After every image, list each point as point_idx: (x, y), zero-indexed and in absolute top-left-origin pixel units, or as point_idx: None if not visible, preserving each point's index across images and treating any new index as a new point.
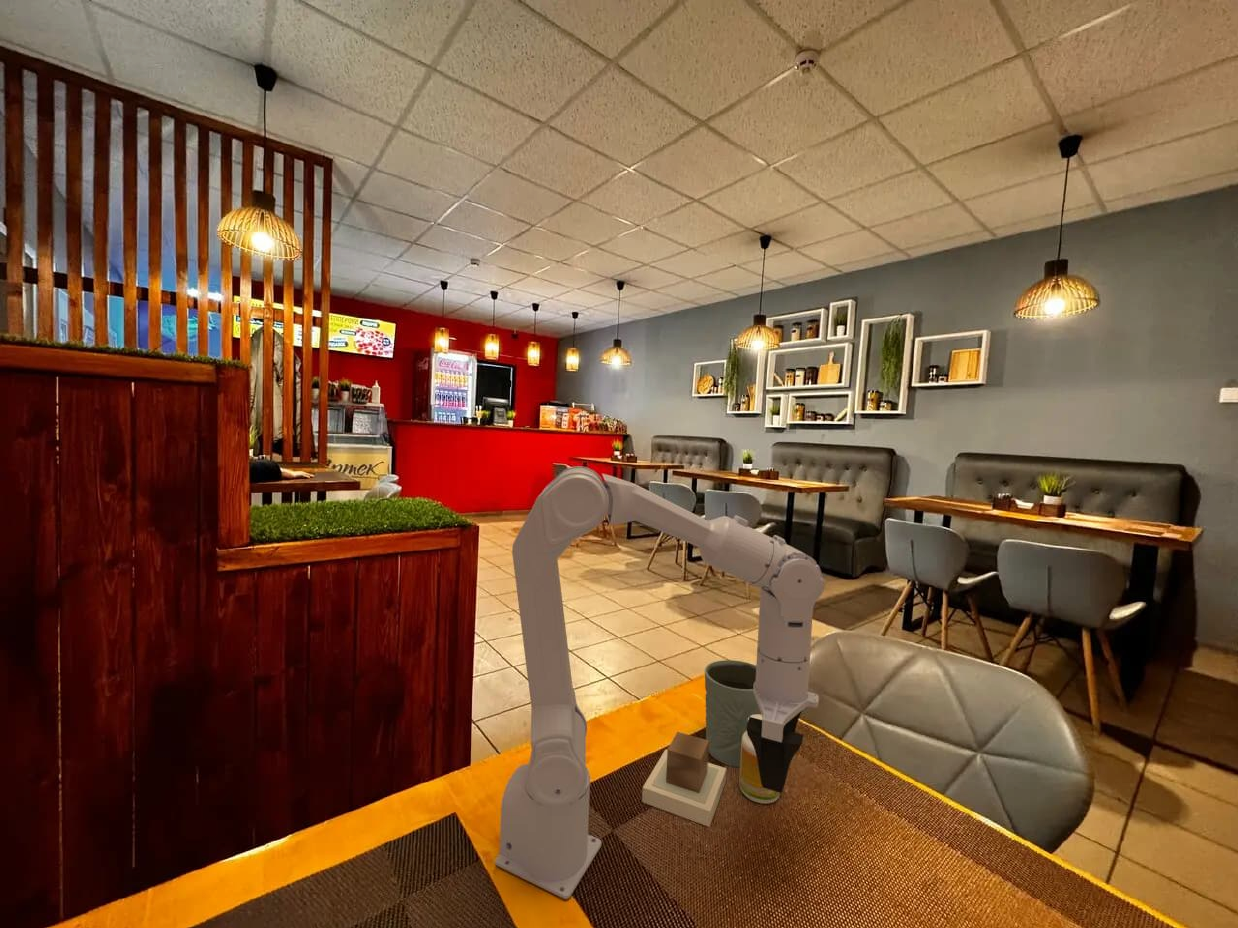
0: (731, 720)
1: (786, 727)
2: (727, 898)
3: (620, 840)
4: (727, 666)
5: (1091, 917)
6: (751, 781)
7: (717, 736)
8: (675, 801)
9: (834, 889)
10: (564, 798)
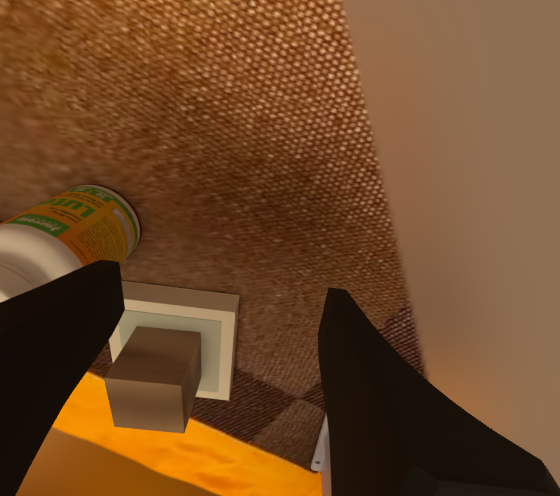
0: None
1: (62, 332)
2: (367, 261)
3: (312, 388)
4: None
5: None
6: (122, 256)
7: None
8: (232, 356)
9: (296, 83)
10: None
